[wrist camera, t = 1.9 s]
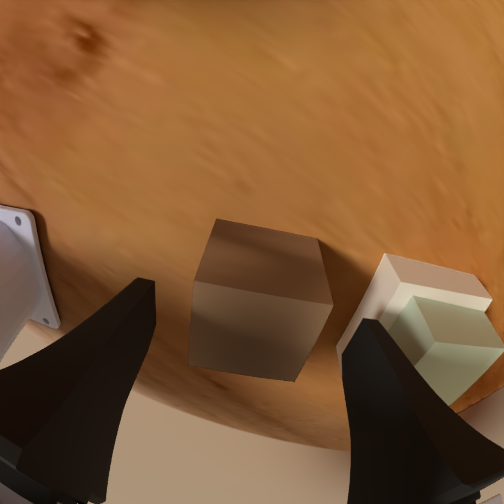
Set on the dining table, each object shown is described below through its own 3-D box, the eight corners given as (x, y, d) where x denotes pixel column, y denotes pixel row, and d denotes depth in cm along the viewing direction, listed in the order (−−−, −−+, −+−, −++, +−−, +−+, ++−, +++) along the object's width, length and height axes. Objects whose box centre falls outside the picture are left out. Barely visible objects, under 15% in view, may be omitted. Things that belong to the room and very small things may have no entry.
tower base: (334, 340, 15) (341, 377, 13) (381, 247, 12) (400, 282, 10) (419, 347, 16) (431, 378, 14) (470, 269, 12) (492, 299, 10)
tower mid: (356, 371, 13) (364, 415, 11) (412, 295, 10) (435, 341, 8) (429, 376, 13) (441, 412, 11) (483, 311, 11) (505, 348, 9)
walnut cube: (206, 295, 14) (187, 364, 10) (216, 217, 11) (193, 280, 8) (291, 311, 14) (294, 381, 10) (316, 237, 12) (333, 305, 8)
